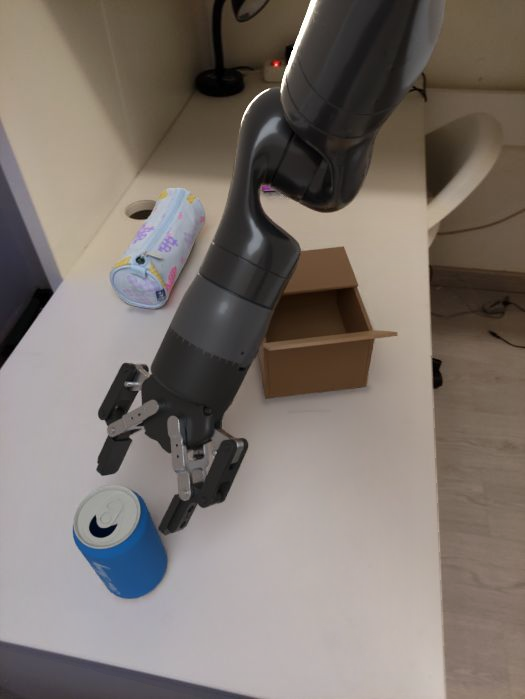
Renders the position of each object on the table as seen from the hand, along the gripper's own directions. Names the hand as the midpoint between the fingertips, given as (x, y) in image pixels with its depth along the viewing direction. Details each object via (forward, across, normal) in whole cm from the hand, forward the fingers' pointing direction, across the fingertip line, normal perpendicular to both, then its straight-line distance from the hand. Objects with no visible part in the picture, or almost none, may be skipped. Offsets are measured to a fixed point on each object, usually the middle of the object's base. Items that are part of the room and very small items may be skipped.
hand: (135, 500), depth 48 cm
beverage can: (+10, 0, +6) cm, 11 cm away
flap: (-19, +2, +16) cm, 25 cm away
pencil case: (-14, -33, +29) cm, 47 cm away
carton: (-15, -6, +30) cm, 34 cm away
